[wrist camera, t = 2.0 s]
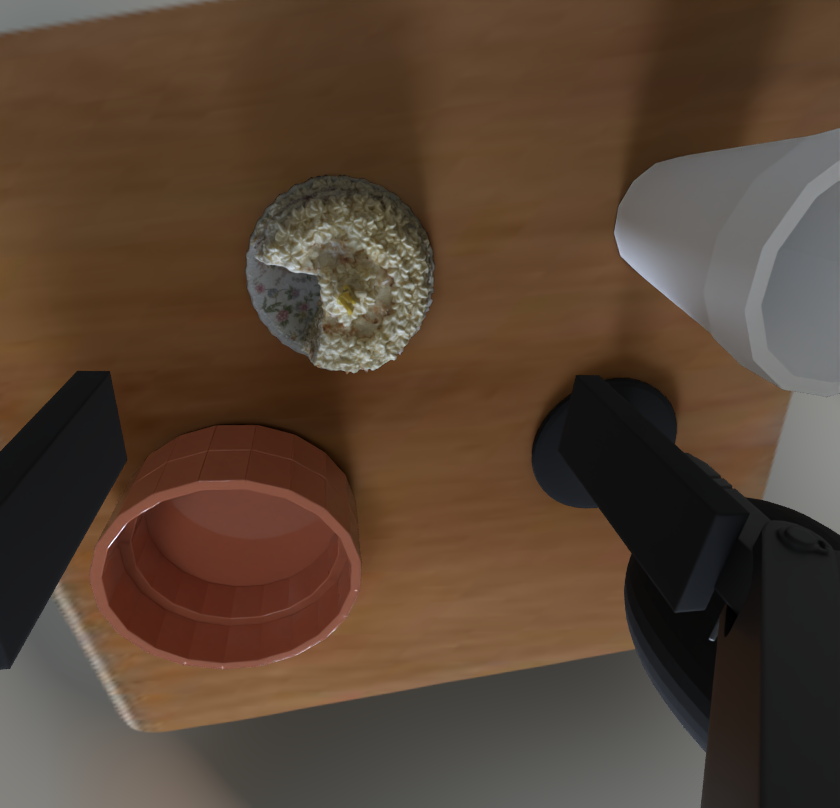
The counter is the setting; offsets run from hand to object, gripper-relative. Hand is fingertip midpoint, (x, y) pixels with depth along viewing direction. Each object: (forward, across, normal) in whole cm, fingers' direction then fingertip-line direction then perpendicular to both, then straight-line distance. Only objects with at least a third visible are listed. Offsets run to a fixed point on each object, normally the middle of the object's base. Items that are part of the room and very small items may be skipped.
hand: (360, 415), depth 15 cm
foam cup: (+15, +18, +4) cm, 24 cm away
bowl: (+15, -6, -16) cm, 23 cm away
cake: (+15, 0, 0) cm, 15 cm away
